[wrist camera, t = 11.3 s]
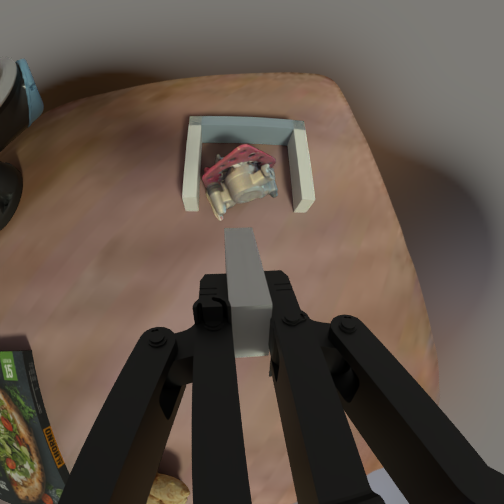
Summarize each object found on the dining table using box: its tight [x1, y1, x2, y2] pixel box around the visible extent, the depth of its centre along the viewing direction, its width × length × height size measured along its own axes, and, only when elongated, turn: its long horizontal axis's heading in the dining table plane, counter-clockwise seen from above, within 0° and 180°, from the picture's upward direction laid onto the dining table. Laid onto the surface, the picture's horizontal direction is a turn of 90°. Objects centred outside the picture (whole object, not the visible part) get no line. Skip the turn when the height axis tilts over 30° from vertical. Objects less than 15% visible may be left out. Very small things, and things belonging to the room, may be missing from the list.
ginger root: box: [146, 471, 190, 504], centre depth 29 cm, size 16×16×8 cm
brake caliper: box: [202, 144, 278, 221], centre depth 42 cm, size 11×11×12 cm
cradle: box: [182, 116, 315, 213], centre depth 44 cm, size 15×19×5 cm
